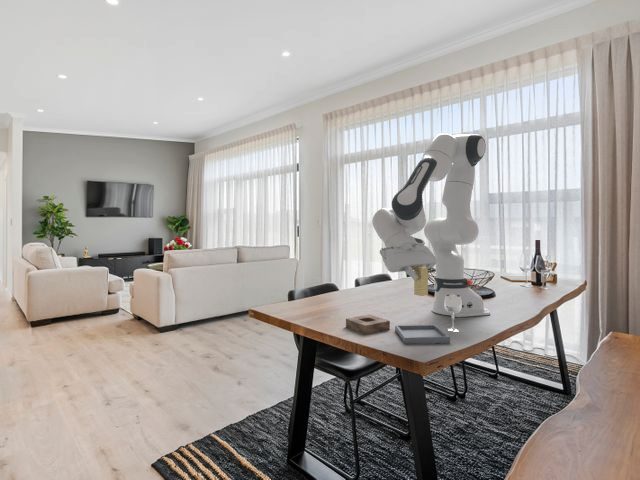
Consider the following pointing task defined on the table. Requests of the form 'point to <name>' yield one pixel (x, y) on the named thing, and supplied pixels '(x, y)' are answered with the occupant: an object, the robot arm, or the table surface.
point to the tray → (421, 334)
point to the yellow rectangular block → (421, 281)
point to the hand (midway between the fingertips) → (422, 278)
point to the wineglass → (453, 308)
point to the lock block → (367, 324)
